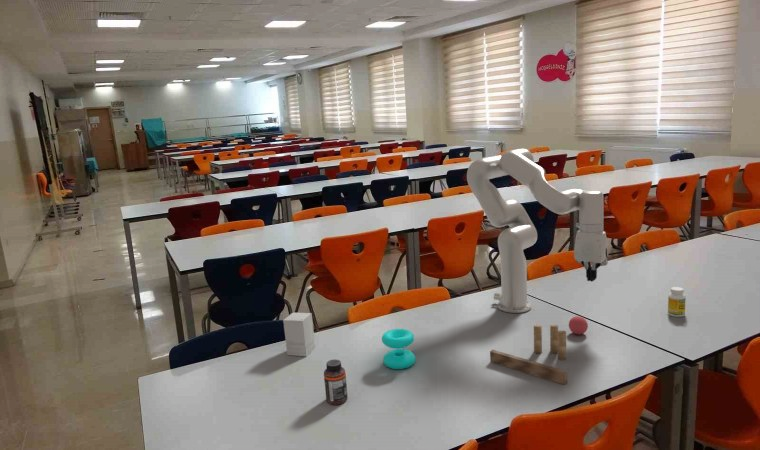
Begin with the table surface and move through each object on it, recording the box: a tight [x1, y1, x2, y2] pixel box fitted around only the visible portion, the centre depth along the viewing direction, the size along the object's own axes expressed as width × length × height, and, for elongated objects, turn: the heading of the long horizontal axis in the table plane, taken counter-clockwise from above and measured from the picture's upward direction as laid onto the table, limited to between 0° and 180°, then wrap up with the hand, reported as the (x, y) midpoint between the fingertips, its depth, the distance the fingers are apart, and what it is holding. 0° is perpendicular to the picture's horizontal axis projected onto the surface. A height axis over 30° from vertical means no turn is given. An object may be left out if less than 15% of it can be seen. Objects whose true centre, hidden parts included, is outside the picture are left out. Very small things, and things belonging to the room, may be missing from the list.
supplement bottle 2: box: [667, 286, 686, 318], centre depth 193 cm, size 5×5×10 cm
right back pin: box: [557, 330, 567, 361], centre depth 166 cm, size 2×2×8 cm
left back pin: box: [533, 324, 543, 354], centre depth 172 cm, size 2×2×8 cm
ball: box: [568, 315, 589, 335], centre depth 183 cm, size 6×6×6 cm
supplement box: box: [282, 312, 316, 357], centre depth 183 cm, size 7×7×13 cm
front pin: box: [549, 324, 559, 354], centre depth 171 cm, size 2×2×8 cm
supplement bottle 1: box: [323, 358, 348, 406], centre depth 150 cm, size 6×6×11 cm
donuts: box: [381, 328, 416, 370], centre depth 170 cm, size 10×10×10 cm
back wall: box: [489, 349, 568, 385], centre depth 160 cm, size 24×2×4 cm, turn 46°
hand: (591, 280), depth 187 cm, fingers closed
